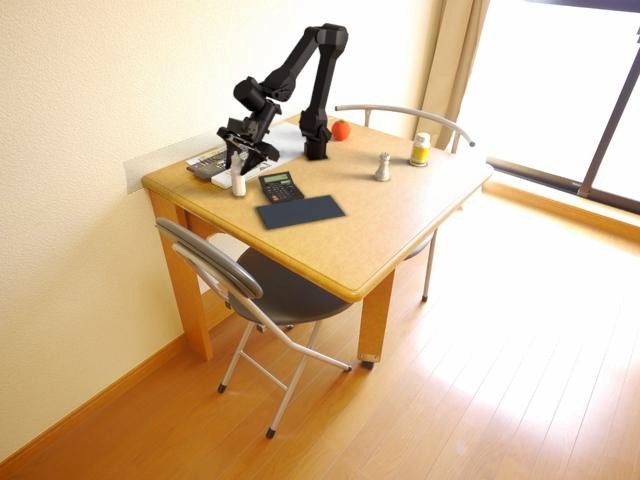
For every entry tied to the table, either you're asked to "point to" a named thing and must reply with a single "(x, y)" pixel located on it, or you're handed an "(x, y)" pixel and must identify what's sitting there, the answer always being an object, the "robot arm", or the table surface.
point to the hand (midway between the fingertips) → (233, 172)
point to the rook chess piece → (383, 168)
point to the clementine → (340, 130)
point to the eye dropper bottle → (237, 175)
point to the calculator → (280, 187)
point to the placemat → (299, 211)
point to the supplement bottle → (420, 149)
